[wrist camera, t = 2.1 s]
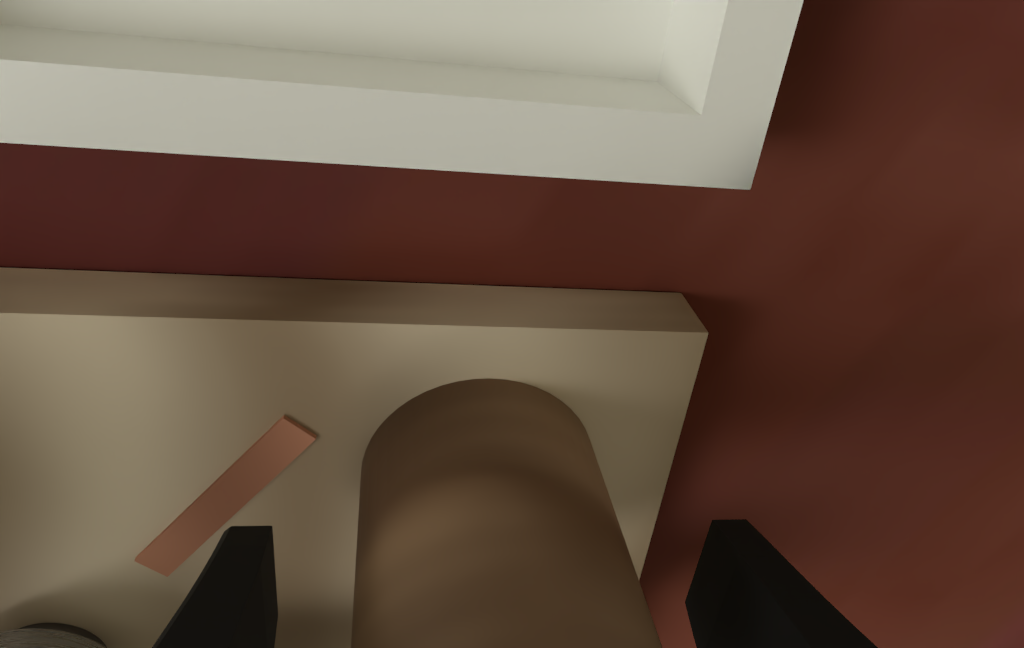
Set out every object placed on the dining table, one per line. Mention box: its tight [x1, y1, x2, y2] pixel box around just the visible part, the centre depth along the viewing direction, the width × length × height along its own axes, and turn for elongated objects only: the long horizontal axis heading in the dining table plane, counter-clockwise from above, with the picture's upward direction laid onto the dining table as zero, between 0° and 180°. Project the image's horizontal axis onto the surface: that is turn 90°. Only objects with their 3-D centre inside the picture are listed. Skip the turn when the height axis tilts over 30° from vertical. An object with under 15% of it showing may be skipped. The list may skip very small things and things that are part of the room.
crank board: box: [0, 267, 708, 648], centre depth 15 cm, size 16×12×2 cm
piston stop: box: [351, 378, 662, 648], centre depth 12 cm, size 4×4×6 cm
